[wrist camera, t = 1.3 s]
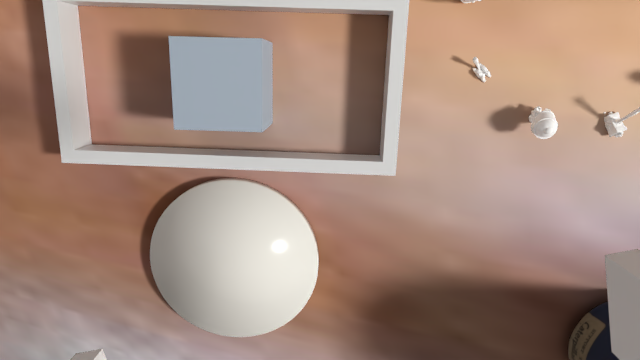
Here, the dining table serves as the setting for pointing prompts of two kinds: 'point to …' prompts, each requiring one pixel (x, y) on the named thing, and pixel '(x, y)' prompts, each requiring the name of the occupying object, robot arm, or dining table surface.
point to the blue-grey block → (221, 83)
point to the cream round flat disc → (234, 257)
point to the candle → (592, 336)
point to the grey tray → (79, 149)
